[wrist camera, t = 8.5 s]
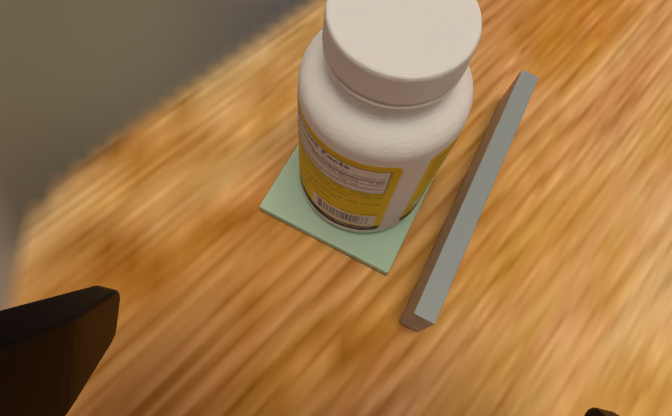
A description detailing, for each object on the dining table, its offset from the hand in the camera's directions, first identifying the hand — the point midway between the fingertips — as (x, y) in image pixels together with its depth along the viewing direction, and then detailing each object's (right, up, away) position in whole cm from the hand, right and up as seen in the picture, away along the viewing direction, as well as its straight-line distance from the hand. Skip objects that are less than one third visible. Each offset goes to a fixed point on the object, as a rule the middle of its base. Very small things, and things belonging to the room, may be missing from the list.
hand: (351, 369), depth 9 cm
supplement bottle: (+1, +4, +12) cm, 13 cm away
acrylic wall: (+5, +3, +12) cm, 14 cm away
